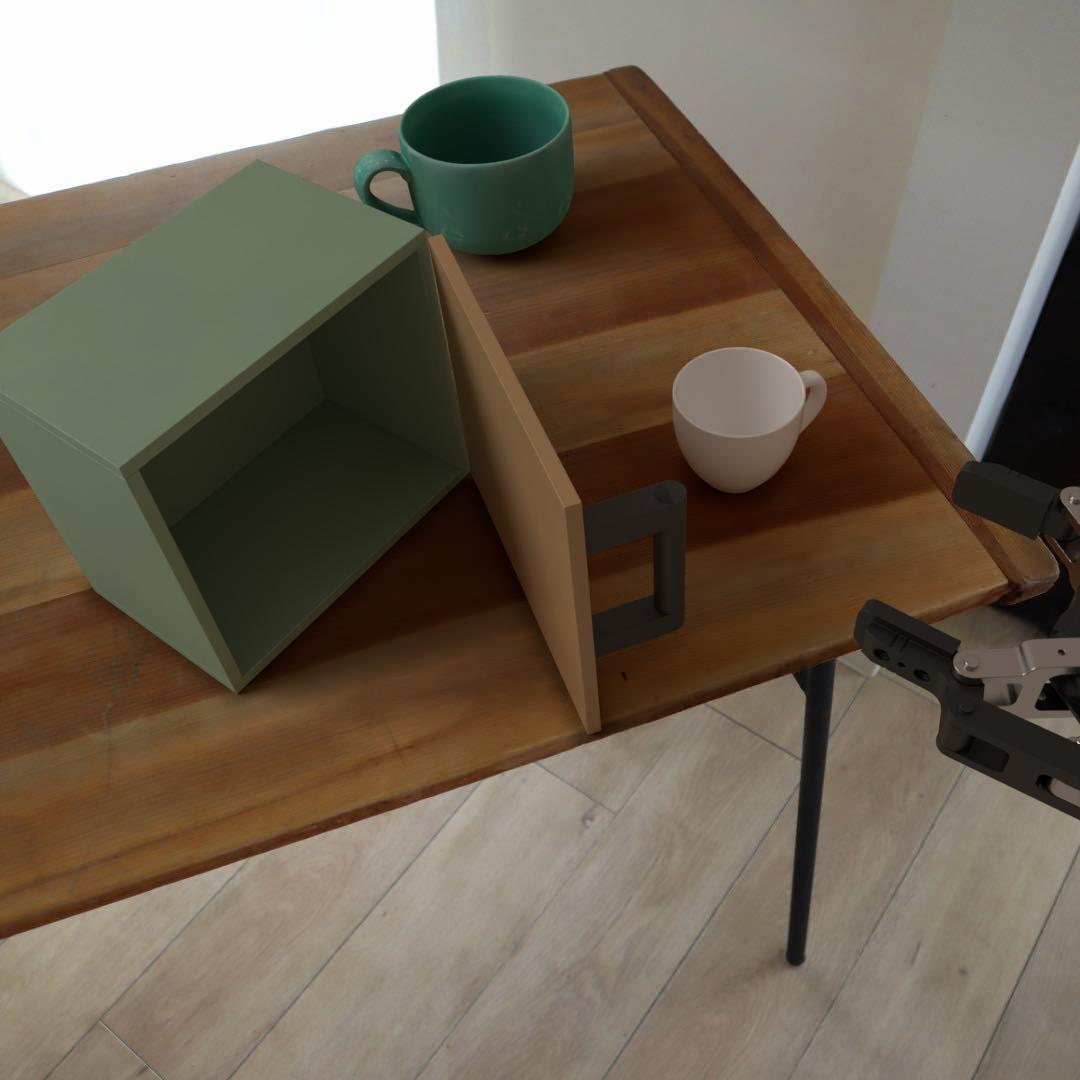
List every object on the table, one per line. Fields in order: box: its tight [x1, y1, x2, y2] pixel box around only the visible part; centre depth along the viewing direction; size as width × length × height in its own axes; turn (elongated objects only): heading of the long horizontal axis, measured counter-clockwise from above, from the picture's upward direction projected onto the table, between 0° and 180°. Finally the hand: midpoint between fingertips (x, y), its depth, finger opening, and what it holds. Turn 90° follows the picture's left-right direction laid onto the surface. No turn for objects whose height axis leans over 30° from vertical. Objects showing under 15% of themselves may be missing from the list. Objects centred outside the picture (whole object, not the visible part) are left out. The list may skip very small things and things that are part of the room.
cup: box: [671, 346, 828, 494], centre depth 72 cm, size 8×10×7 cm
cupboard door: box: [427, 234, 688, 736], centre depth 63 cm, size 7×21×18 cm, turn 20°
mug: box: [353, 74, 575, 256], centre depth 89 cm, size 17×13×10 cm
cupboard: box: [0, 158, 471, 695], centre depth 67 cm, size 13×21×19 cm, turn 142°
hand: (911, 545), depth 47 cm, fingers open, 8 cm apart
